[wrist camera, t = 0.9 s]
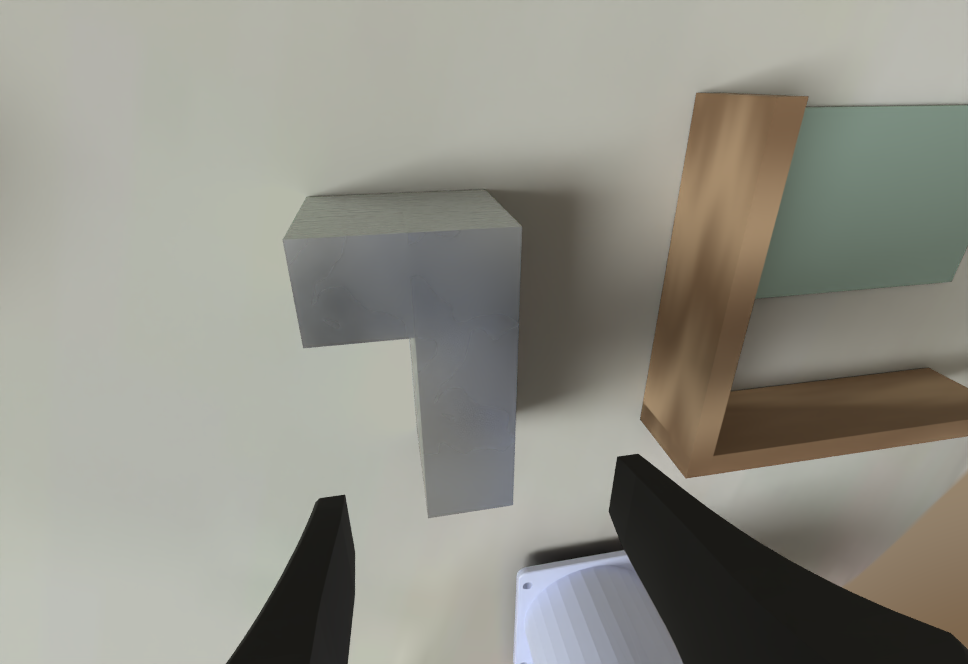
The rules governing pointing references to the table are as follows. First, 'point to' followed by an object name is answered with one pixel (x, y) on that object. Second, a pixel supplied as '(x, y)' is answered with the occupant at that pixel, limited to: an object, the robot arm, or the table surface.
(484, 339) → the bracket
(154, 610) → the table surface
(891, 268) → the pad
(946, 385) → the brown wooden l-shaped piece
